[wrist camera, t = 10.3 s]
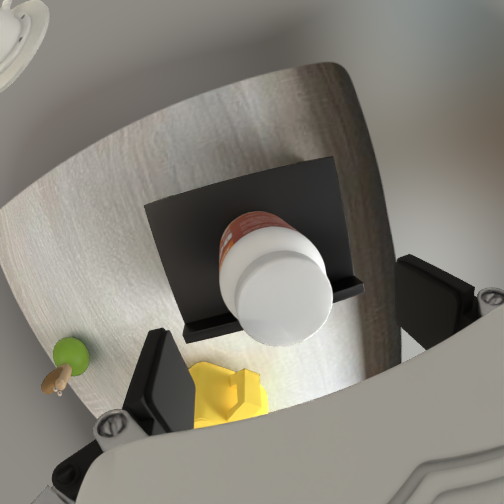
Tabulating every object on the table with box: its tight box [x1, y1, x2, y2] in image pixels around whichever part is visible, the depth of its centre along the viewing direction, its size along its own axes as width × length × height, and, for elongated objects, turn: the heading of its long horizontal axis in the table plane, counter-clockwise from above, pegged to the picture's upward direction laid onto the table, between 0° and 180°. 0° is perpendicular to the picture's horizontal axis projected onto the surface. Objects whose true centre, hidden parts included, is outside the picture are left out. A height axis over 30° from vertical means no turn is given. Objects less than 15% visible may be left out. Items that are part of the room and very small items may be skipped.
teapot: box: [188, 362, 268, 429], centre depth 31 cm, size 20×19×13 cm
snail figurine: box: [41, 337, 89, 396], centre depth 27 cm, size 5×6×12 cm
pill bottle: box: [219, 211, 333, 346], centre depth 18 cm, size 6×6×11 cm
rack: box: [144, 156, 364, 344], centre depth 26 cm, size 12×16×10 cm
